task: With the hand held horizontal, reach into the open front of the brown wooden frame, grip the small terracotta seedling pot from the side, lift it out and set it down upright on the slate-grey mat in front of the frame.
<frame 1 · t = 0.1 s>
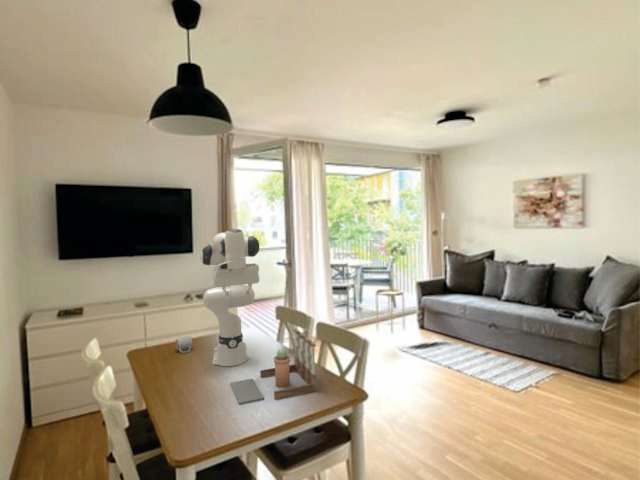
hand: (237, 295, 167), 39 cm above the table, tool pointing down, fingers open, 8 cm apart
brown wooden frame: (287, 383, 163), on the table
seedling pot: (282, 384, 163), on the table
ceramic mug: (185, 350, 208), on the table
potting mat: (246, 391, 156), on the table
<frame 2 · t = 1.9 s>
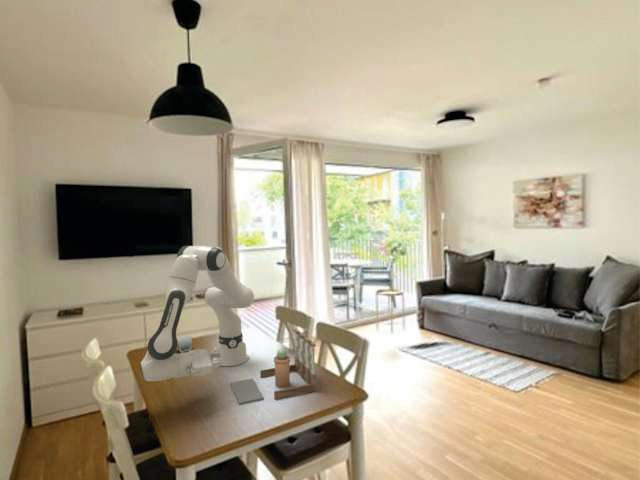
hand: (221, 358, 152), 16 cm above the table, tool horizontal, fingers open, 8 cm apart
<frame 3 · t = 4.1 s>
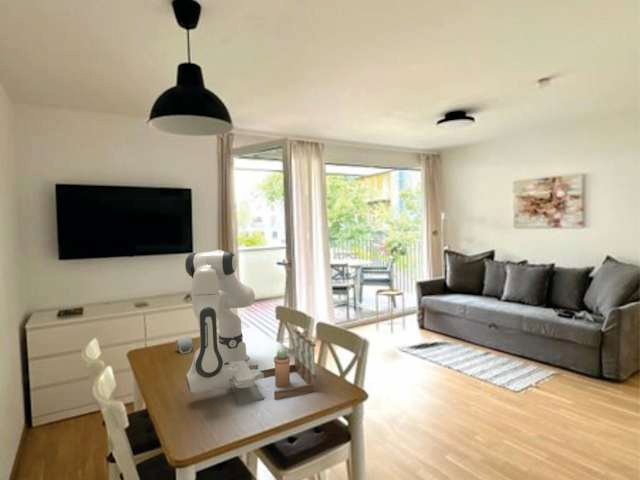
hand: (260, 370, 158), 8 cm above the table, tool horizontal, fingers open, 8 cm apart
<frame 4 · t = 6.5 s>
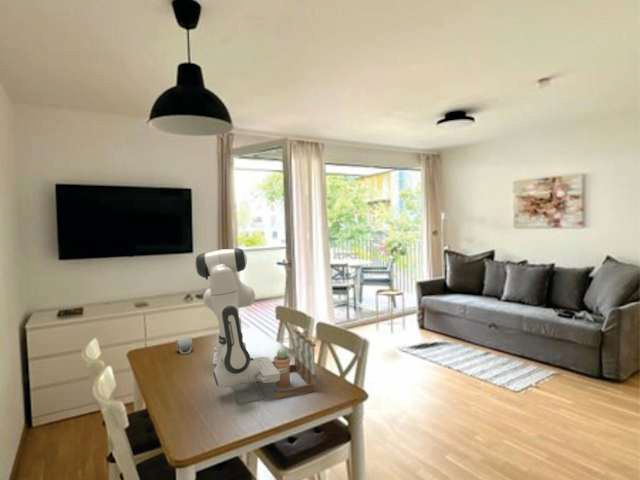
hand: (284, 366, 163), 8 cm above the table, tool horizontal, fingers closed on seedling pot, 6 cm apart
seedling pot: (282, 384, 163), on the table, touching gripper
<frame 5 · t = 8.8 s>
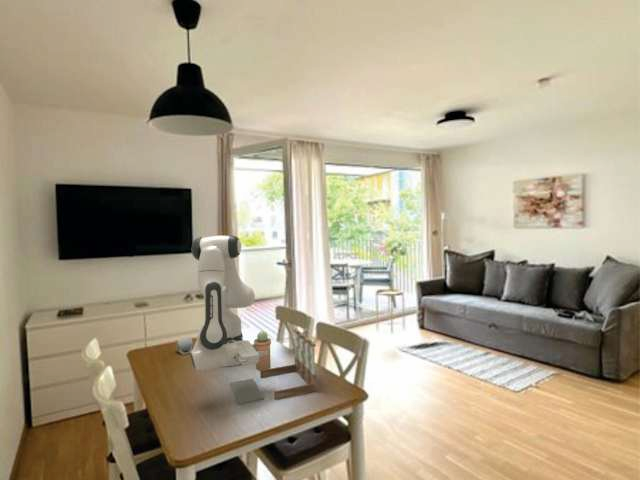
hand: (264, 349, 159), 17 cm above the table, tool horizontal, fingers closed on seedling pot, 6 cm apart
seedling pot: (263, 367, 159), point 9 cm above the table, touching gripper
when the fingers open (10 cm above the table, at t = 11.5 s): seedling pot drops 1 cm, resting on potting mat.
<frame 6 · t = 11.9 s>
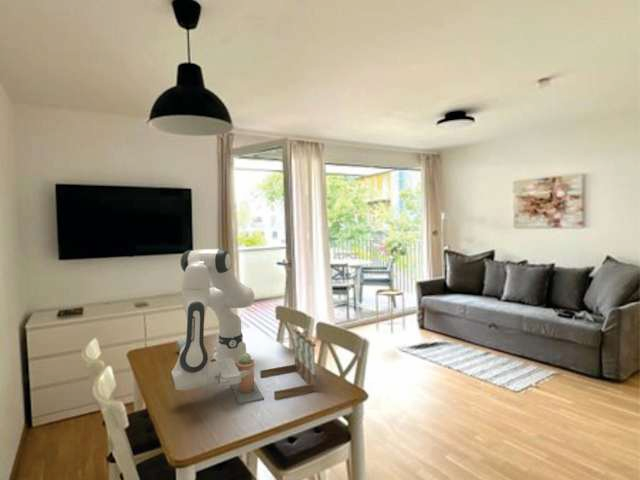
hand: (247, 367, 156), 10 cm above the table, tool horizontal, fingers open, 8 cm apart
seedling pot: (246, 389, 156), point 1 cm above the table, touching potting mat
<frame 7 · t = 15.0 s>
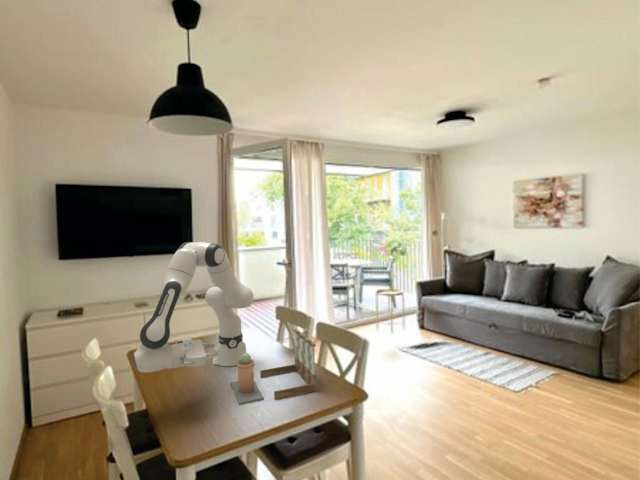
hand: (215, 349, 151), 20 cm above the table, tool horizontal, fingers open, 8 cm apart
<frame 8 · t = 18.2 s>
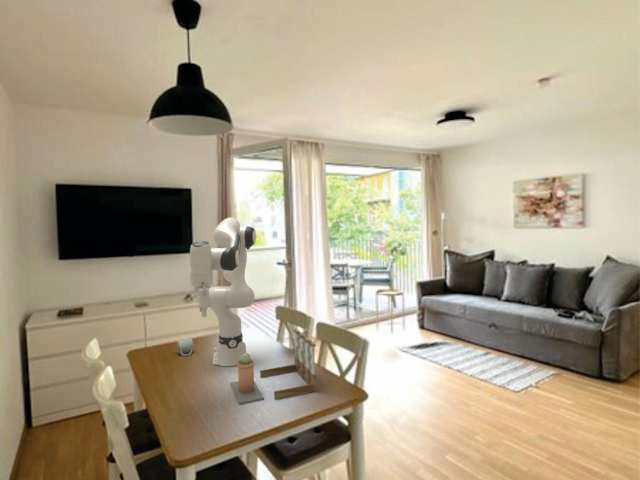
hand: (203, 314, 153), 34 cm above the table, tool pointing down, fingers open, 8 cm apart
at the end: seedling pot inside the target area on the potting mat (0.0 cm from its centre), point 0.8 cm above the potting mat's base; seedling pot tilted 0°; the gripper is holding nothing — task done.
